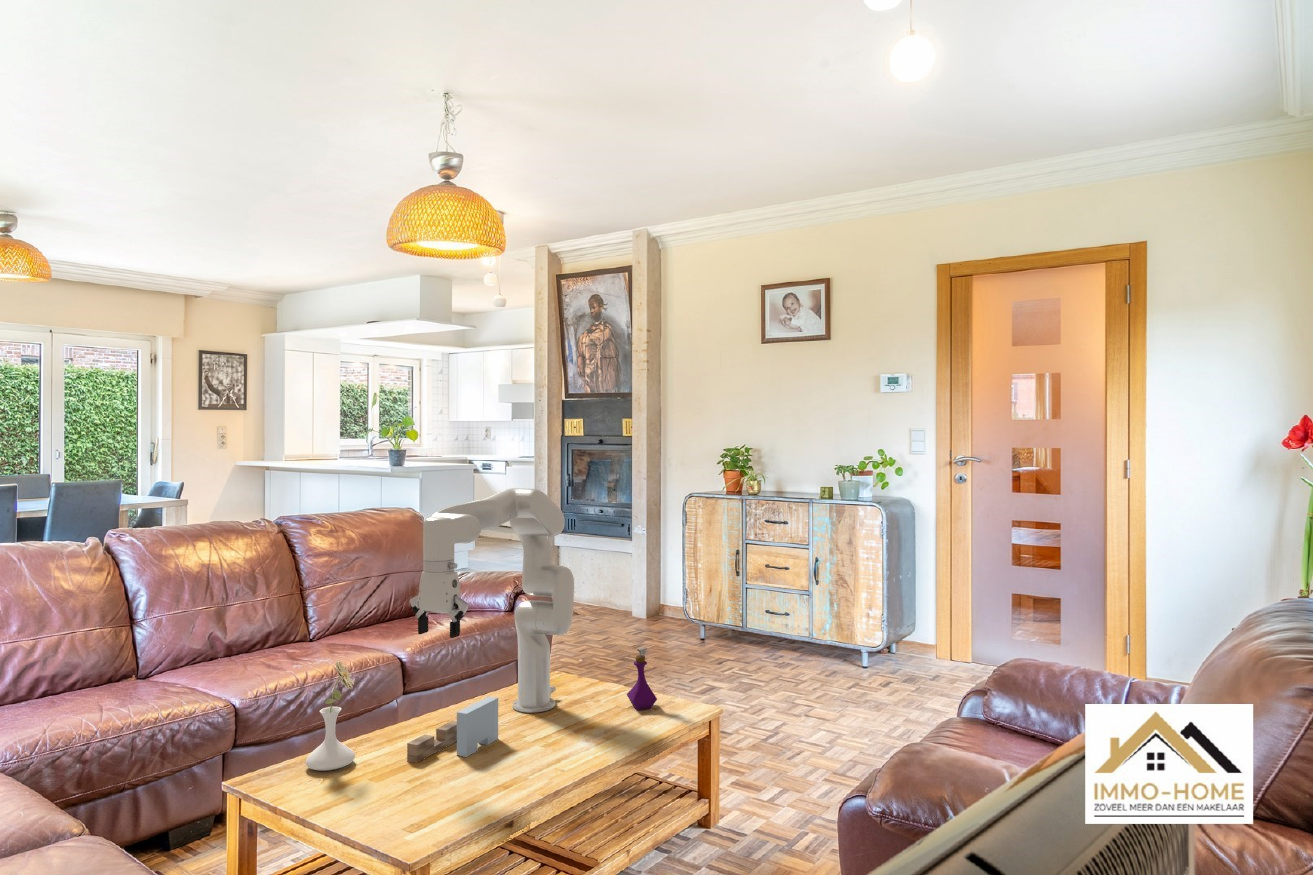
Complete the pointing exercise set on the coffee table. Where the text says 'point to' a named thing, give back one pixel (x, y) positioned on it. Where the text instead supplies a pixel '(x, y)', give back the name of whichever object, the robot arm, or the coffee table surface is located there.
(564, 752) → the coffee table surface
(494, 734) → the blue grey notched plate
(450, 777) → the coffee table surface
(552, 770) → the coffee table surface
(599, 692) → the coffee table surface
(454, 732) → the brown notched bar
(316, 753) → the flower in vase
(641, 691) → the perfume bottle
